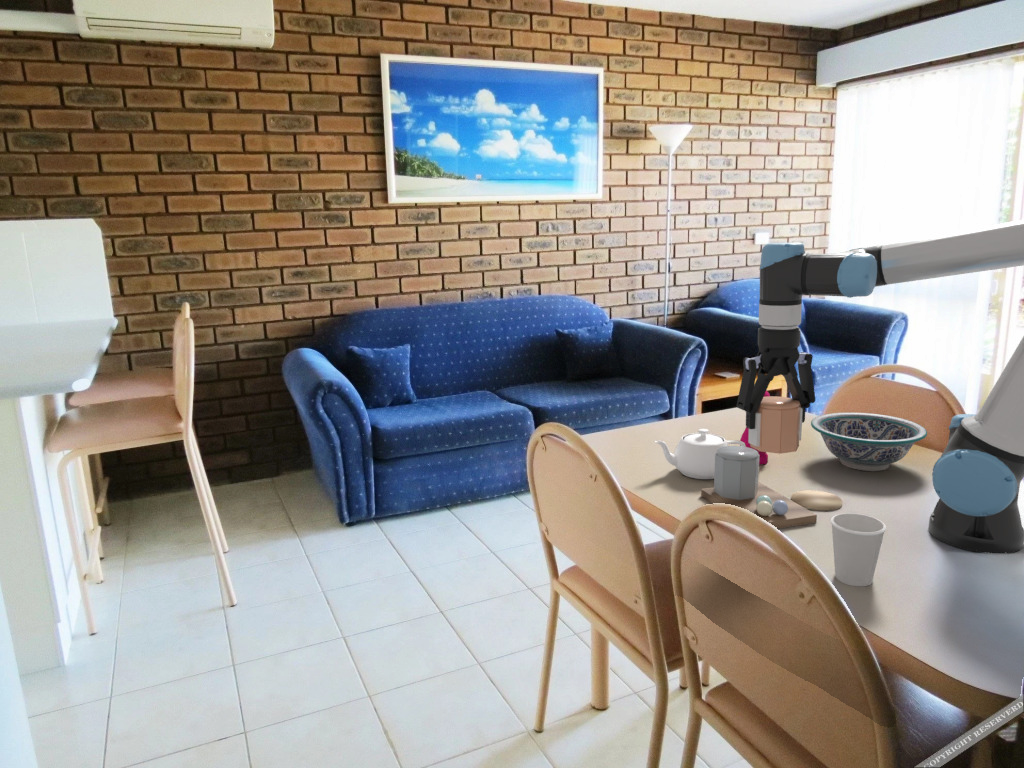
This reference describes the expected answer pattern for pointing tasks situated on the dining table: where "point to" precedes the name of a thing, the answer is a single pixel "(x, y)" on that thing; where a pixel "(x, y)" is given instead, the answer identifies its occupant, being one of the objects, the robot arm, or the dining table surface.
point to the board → (791, 518)
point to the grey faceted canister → (736, 472)
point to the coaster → (817, 500)
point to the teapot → (697, 453)
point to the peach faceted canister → (779, 425)
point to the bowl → (867, 438)
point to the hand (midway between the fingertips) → (774, 441)
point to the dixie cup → (856, 547)
